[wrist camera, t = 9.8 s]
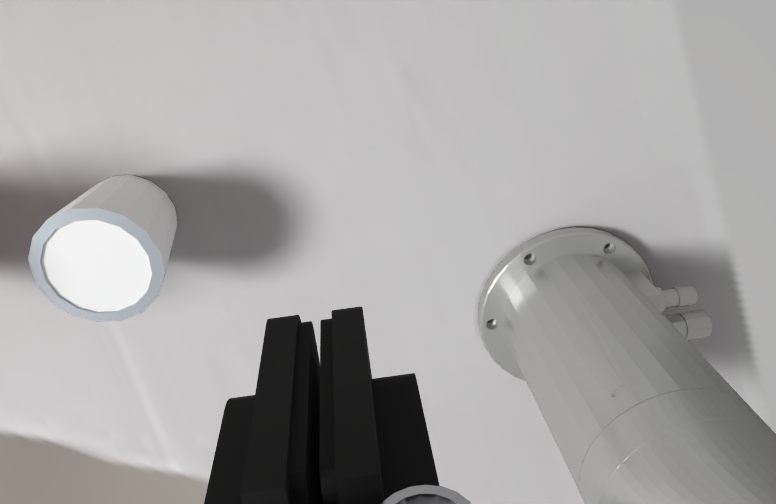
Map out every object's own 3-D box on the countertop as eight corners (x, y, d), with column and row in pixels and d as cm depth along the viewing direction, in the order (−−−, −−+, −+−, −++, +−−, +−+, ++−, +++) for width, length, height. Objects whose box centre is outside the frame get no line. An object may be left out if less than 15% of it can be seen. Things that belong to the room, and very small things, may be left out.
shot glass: (100, 144, 37) (56, 184, 31) (206, 199, 40) (186, 247, 33) (56, 234, 40) (7, 289, 33) (159, 282, 42) (131, 342, 36)
